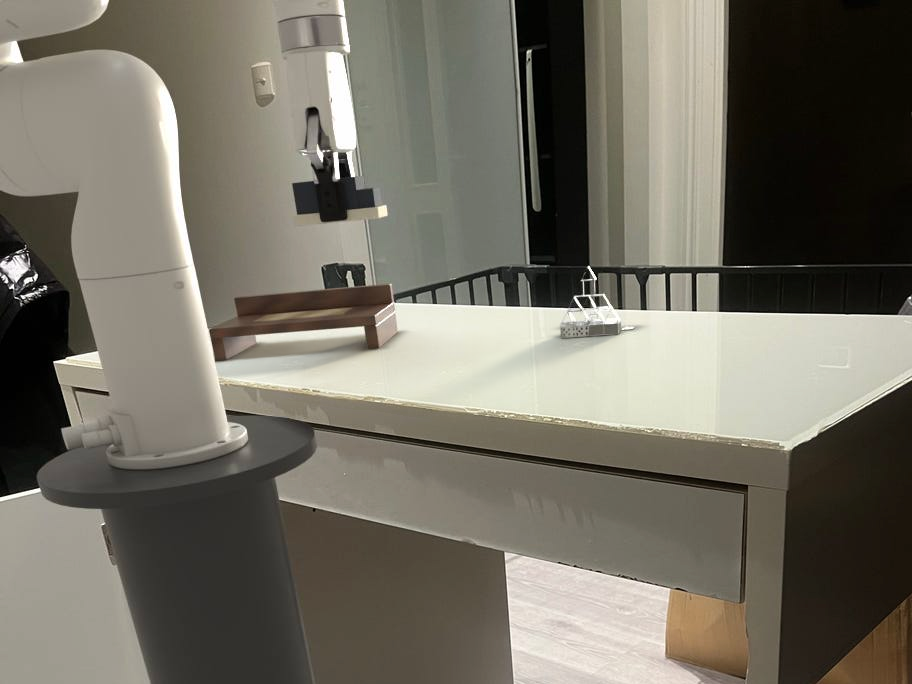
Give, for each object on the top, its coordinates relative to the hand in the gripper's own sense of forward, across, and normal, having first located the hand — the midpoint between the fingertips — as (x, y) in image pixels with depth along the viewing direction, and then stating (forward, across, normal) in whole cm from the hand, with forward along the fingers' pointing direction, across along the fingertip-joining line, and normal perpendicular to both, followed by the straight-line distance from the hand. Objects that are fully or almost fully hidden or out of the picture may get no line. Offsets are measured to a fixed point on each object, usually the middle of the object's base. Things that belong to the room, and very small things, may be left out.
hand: (340, 217), depth 114 cm
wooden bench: (+15, -6, -9) cm, 19 cm away
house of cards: (+16, -2, +30) cm, 34 cm away
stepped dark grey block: (0, 0, 0) cm, 0 cm away
